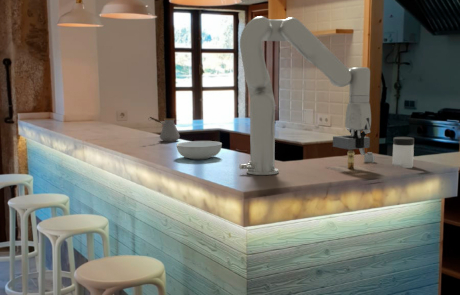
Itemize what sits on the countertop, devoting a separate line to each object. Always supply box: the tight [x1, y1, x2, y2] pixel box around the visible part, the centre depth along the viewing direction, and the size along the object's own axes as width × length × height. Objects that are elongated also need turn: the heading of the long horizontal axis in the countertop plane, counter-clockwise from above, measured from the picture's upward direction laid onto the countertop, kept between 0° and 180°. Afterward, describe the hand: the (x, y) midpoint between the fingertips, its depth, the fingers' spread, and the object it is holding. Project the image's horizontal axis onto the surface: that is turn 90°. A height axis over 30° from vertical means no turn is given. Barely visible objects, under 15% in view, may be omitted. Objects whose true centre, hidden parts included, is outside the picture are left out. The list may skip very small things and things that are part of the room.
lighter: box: [358, 148, 376, 163], centre depth 234 cm, size 7×2×8 cm, turn 51°
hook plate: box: [326, 164, 376, 174], centre depth 217 cm, size 14×14×1 cm
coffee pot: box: [148, 116, 181, 143], centre depth 312 cm, size 21×12×15 cm, turn 142°
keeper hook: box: [347, 149, 356, 169], centre depth 217 cm, size 3×3×7 cm
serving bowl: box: [176, 140, 223, 161], centre depth 254 cm, size 21×21×7 cm
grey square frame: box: [332, 134, 371, 151], centre depth 216 cm, size 10×10×4 cm
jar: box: [392, 136, 415, 169], centre depth 227 cm, size 9×8×12 cm
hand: (357, 147), depth 213 cm, fingers closed on grey square frame, 2 cm apart
